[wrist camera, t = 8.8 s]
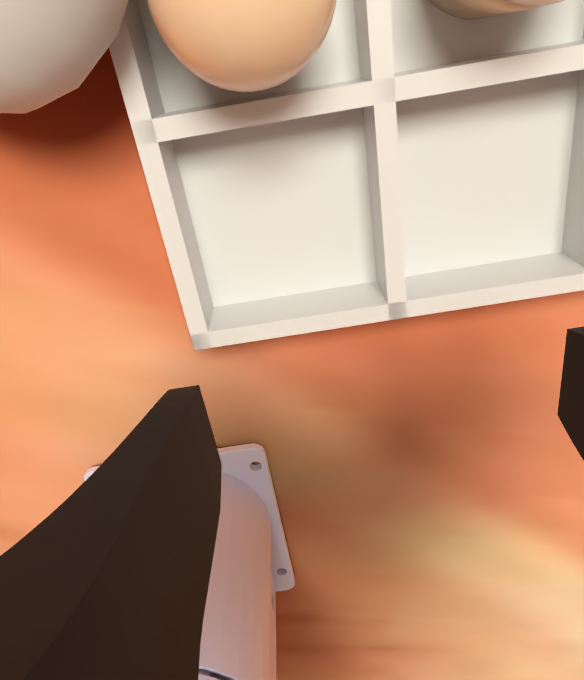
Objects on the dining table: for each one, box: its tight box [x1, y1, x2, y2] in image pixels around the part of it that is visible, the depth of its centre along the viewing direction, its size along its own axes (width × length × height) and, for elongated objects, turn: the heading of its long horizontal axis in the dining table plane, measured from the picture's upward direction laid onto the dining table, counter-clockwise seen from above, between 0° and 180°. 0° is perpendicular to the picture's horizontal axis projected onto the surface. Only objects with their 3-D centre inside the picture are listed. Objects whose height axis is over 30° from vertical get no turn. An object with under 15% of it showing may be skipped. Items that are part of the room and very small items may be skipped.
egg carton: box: [109, 0, 584, 350], centre depth 15 cm, size 14×20×2 cm
